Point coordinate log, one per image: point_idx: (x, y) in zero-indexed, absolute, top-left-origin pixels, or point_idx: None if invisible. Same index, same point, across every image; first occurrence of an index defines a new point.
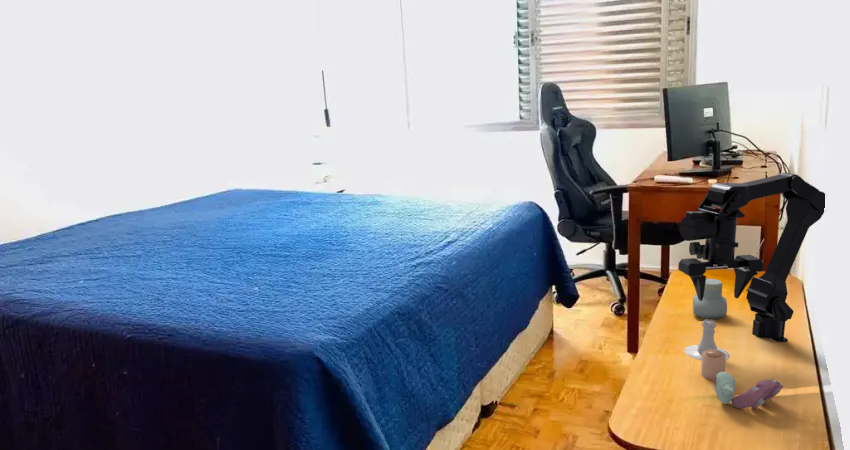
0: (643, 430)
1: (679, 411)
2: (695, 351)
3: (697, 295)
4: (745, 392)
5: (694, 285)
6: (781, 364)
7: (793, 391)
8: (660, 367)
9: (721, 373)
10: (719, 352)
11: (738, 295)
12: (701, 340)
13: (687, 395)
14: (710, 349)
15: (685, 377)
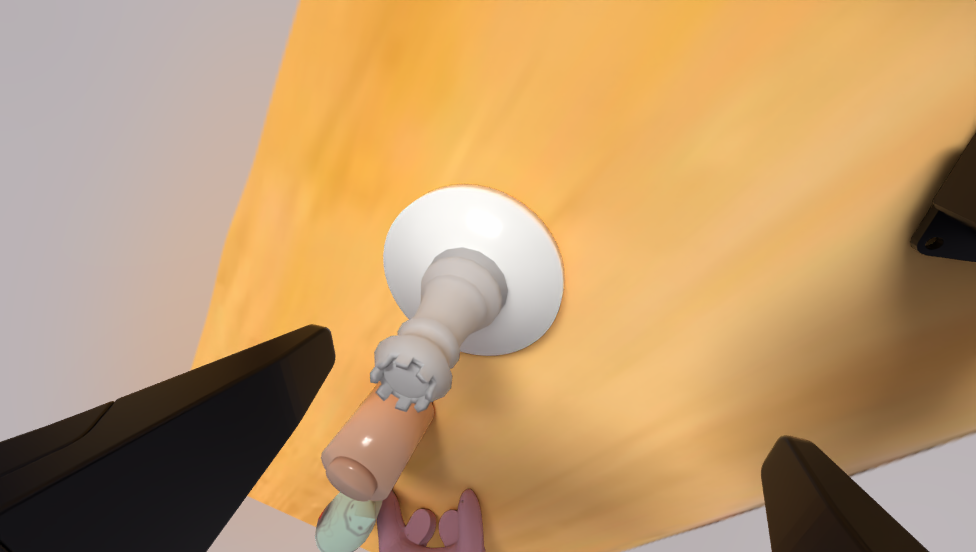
0: None
1: (280, 453)
2: (430, 253)
3: (265, 349)
4: (379, 549)
5: (90, 428)
6: (712, 424)
7: (573, 517)
8: (286, 284)
9: (319, 548)
10: (364, 494)
11: (778, 531)
12: (422, 298)
13: (313, 423)
14: (344, 470)
15: (338, 361)
